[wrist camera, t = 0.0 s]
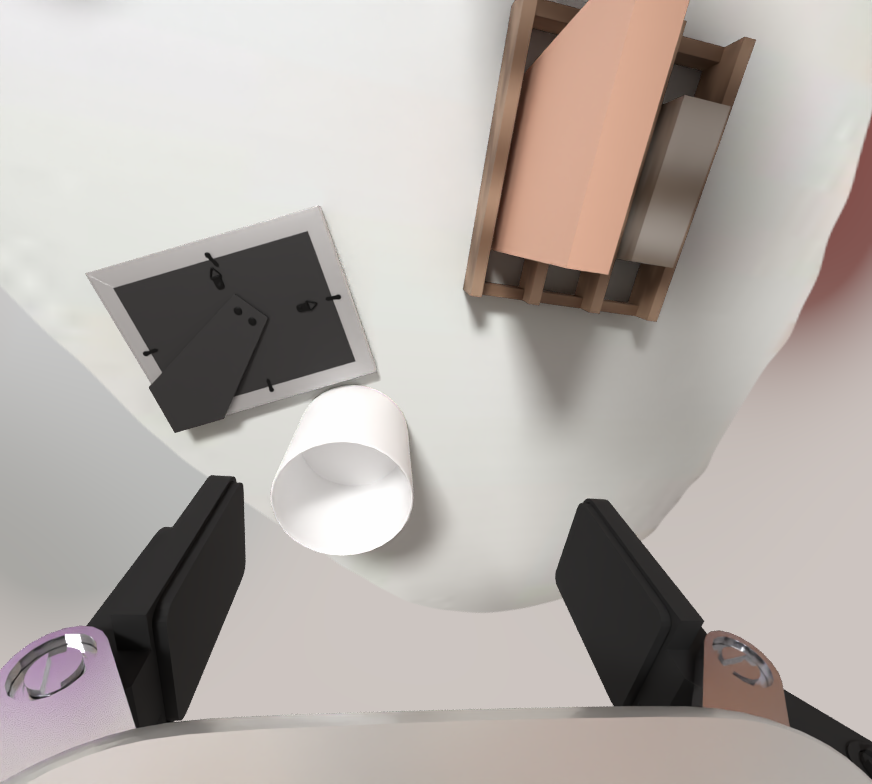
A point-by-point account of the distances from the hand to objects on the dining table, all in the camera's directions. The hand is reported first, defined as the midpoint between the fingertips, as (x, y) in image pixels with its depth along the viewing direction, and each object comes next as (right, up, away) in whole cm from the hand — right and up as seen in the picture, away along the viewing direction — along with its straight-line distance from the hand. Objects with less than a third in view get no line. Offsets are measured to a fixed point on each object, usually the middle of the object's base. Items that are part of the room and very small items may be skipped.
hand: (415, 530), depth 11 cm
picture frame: (-18, +11, +28) cm, 35 cm away
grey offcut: (+20, +23, +27) cm, 40 cm away
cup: (-8, -1, +34) cm, 35 cm away
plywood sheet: (+8, +24, +25) cm, 36 cm away
